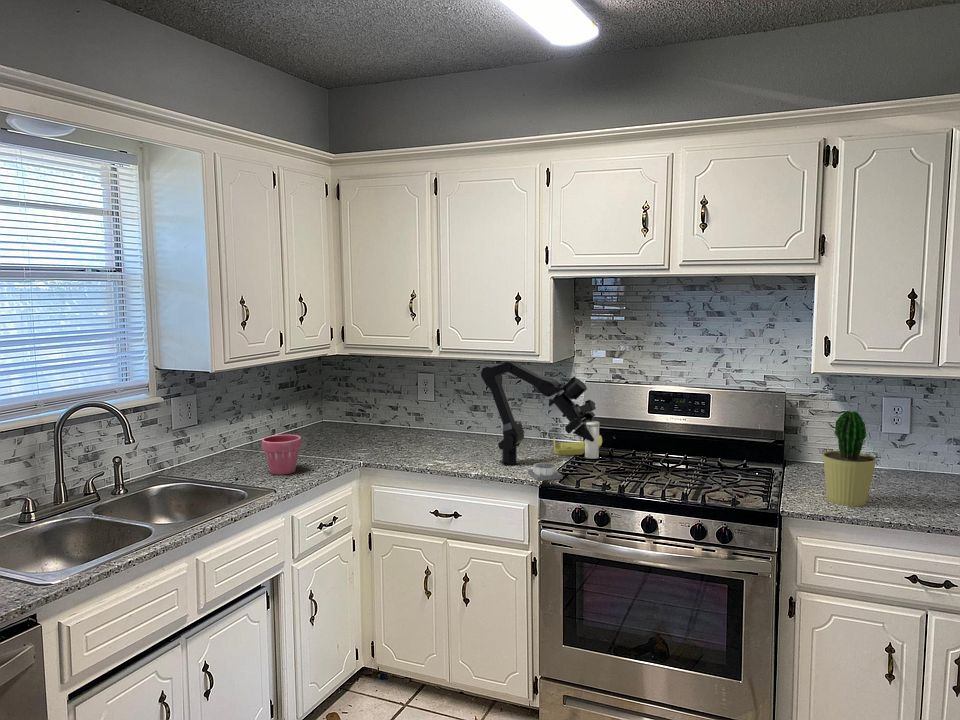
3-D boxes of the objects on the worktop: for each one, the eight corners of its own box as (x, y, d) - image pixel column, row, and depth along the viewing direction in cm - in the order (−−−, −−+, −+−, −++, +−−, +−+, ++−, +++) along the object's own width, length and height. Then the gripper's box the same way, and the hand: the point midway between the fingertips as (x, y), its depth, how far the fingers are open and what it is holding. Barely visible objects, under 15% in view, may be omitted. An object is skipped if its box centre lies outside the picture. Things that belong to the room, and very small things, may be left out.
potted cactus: (871, 497, 237) (876, 407, 234) (876, 510, 223) (881, 415, 220) (819, 491, 243) (824, 404, 240) (821, 504, 229) (825, 411, 226)
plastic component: (554, 450, 293) (553, 435, 302) (555, 464, 297) (554, 449, 306) (603, 447, 292) (600, 432, 300) (603, 461, 295) (601, 446, 304)
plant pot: (258, 469, 272) (257, 436, 270) (295, 465, 279) (294, 432, 277) (268, 478, 259) (267, 443, 258) (306, 473, 267) (305, 439, 265)
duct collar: (527, 474, 266) (527, 463, 265) (552, 472, 268) (552, 461, 268) (537, 480, 256) (537, 470, 256) (562, 478, 259) (562, 467, 259)
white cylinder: (582, 455, 268) (582, 421, 266) (594, 454, 269) (595, 420, 268) (588, 459, 263) (589, 423, 261) (601, 458, 264) (602, 423, 263)
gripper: (574, 397, 257) (603, 430, 253) (590, 390, 274) (618, 421, 270) (553, 416, 261) (581, 450, 258) (570, 408, 278) (597, 439, 274)
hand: (595, 439), depth 265 cm, fingers closed on white cylinder, 5 cm apart
